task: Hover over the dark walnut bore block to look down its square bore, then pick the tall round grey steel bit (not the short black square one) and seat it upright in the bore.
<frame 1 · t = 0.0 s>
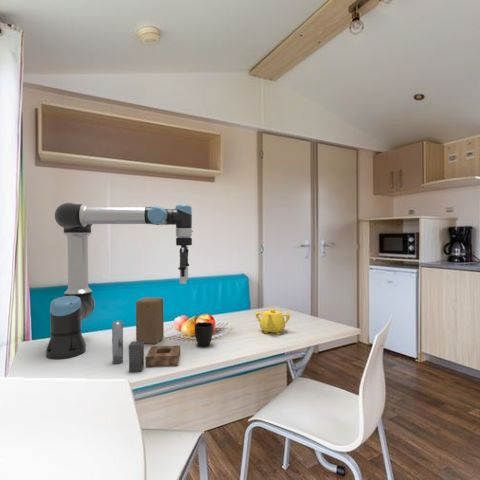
hand: (184, 281, 161), 28 cm above the table, fingers open, 13 cm apart
wooden block: (150, 341, 160), on the table
bore block: (163, 360, 135), on the table
teapot: (272, 333, 172), on the table
square bit: (136, 369, 126), on the table
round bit: (117, 362, 134), on the table
mug: (202, 344, 155), on the table
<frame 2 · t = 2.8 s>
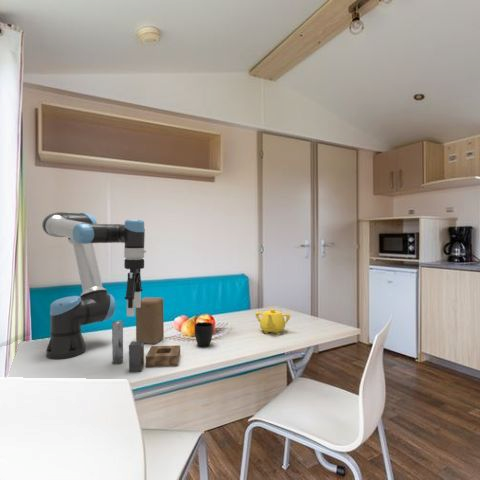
hand: (134, 311, 134), 20 cm above the table, fingers open, 13 cm apart
nothing on the table moved.
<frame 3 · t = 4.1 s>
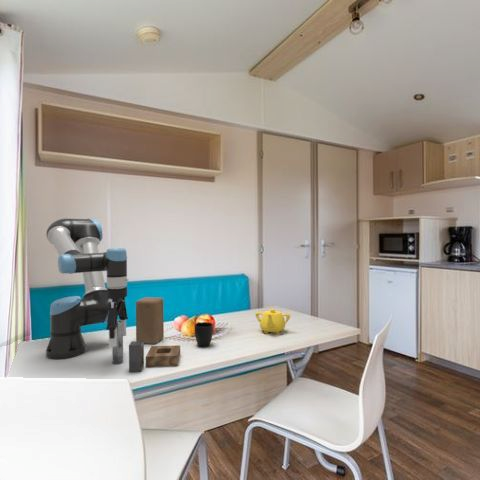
hand: (118, 340, 133), 9 cm above the table, fingers open, 13 cm apart
nothing on the table moved.
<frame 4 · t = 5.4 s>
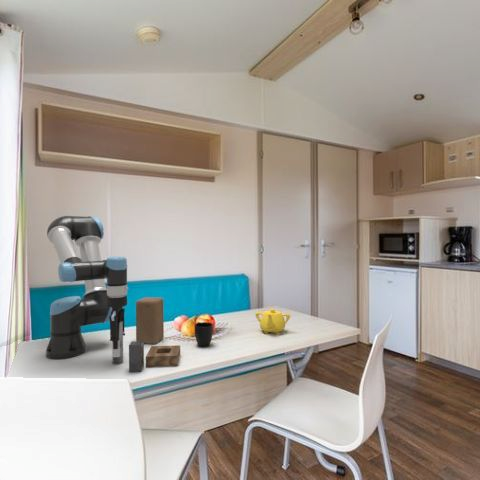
hand: (117, 354, 133), 3 cm above the table, fingers closed on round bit, 4 cm apart
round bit: (117, 362, 134), on the table, touching gripper
everything else where it was.
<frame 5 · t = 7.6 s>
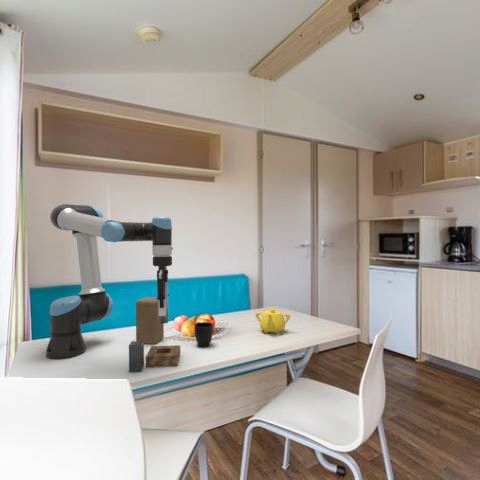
hand: (163, 314, 134), 19 cm above the table, fingers closed on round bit, 4 cm apart
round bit: (163, 322, 135), point 15 cm above the table, touching gripper
everything else where it was.
when the fingers open (6 cm above the table, at t = 9.7 s): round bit drops 2 cm, resting in bore block.
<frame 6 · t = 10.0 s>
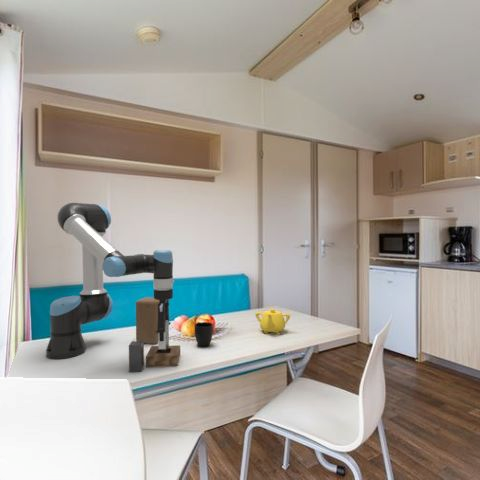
hand: (163, 344, 135), 6 cm above the table, fingers open, 9 cm apart
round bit: (163, 360, 135), resting in bore block
everything else where it was.
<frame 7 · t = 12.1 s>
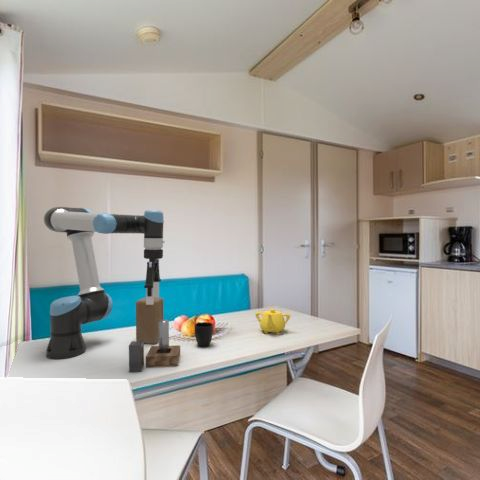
hand: (152, 300, 137), 24 cm above the table, fingers open, 13 cm apart
nothing on the table moved.
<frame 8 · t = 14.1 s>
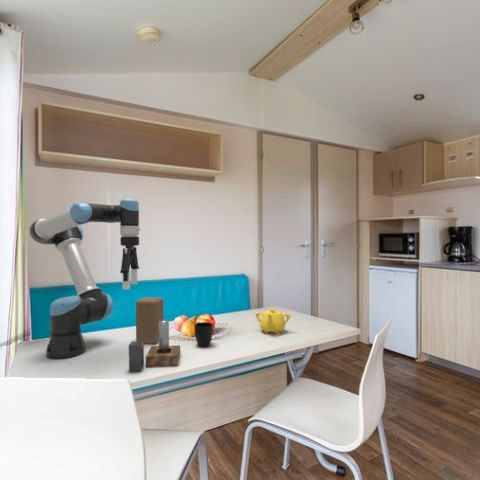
hand: (130, 286, 142), 29 cm above the table, fingers open, 13 cm apart
nothing on the table moved.
at the end: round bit 0.1 cm off-centre on the bore block, point 0.0 cm above the bore block's base; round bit tilted 0°; the gripper is holding nothing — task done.
